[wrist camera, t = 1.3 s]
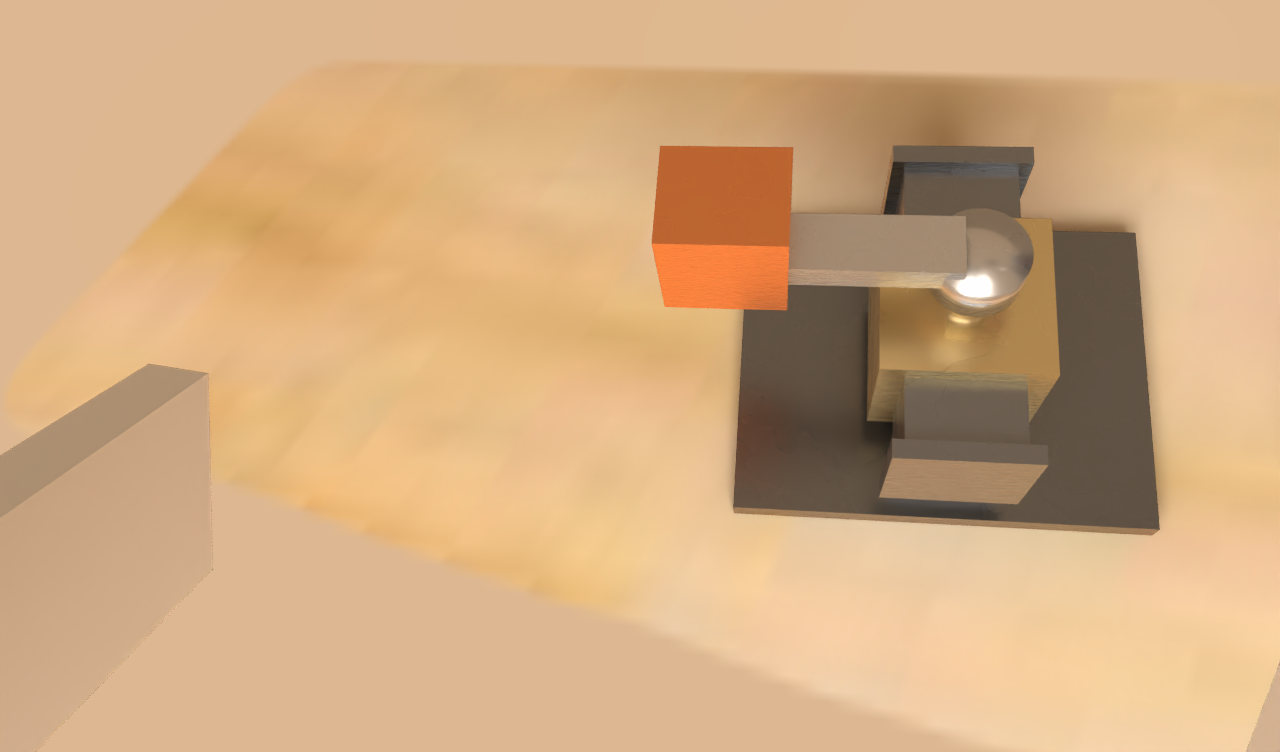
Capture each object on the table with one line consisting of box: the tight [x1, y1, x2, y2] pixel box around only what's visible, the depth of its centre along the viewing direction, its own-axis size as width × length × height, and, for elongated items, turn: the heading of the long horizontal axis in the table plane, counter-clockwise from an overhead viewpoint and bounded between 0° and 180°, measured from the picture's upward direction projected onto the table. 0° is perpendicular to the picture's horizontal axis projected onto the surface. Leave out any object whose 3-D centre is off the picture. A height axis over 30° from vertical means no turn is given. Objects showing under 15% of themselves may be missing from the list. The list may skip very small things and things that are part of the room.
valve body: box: [733, 146, 1160, 535], centre depth 37 cm, size 14×11×8 cm
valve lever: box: [652, 146, 1034, 317], centre depth 32 cm, size 10×3×4 cm, turn 86°
